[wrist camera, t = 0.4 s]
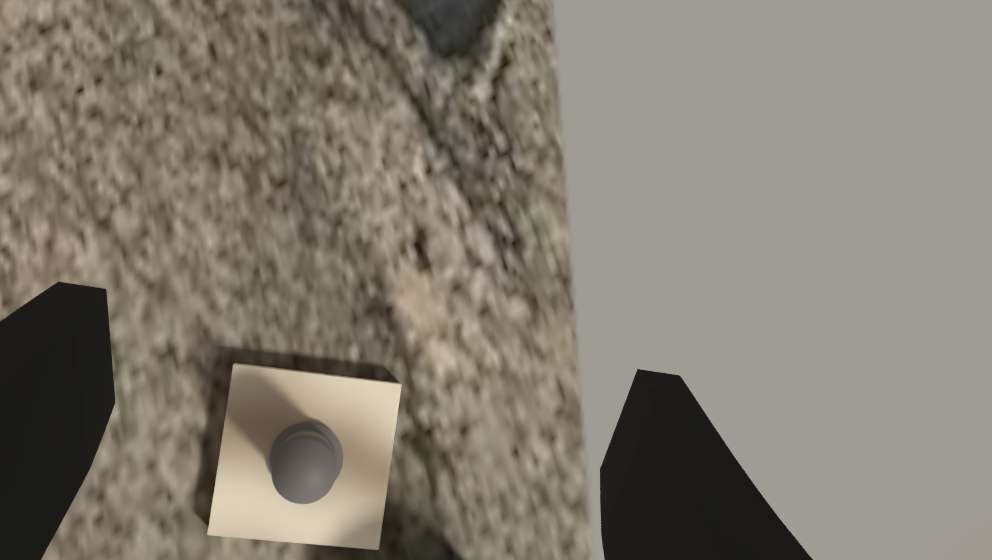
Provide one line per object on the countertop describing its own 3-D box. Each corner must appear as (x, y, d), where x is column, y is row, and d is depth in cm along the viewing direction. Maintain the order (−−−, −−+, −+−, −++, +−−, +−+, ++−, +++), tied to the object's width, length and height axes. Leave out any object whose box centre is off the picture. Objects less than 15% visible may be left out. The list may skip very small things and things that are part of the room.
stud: (377, 544, 38) (383, 573, 34) (210, 529, 37) (194, 557, 33) (399, 382, 39) (408, 391, 34) (235, 362, 38) (223, 368, 33)
